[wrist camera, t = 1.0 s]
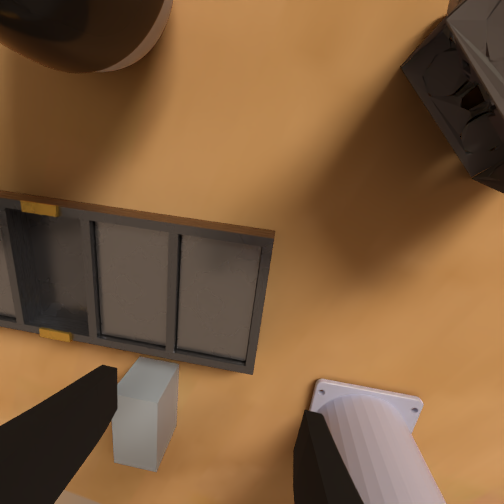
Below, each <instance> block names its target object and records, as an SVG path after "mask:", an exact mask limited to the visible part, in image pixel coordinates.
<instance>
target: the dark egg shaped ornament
mask: <svg viewBox="0 0 504 504" xmlns="http://www.w3.org/2000/svg"><path fill="white" fill-rule="evenodd" d="M172 3H173V0H0V43H1V44H2V45H4V46H6V47H8V48H9V49H11V50H13V51H15V52H16V53H18V54H20V55H22V56H24V57H26V58H28V59H30V60H32V61H34V62H36V63H39V64H41V65H43V66H46V67H48V68H51V69H54V70H57V71H62V72H67V73H91V72H109V71H115V70H119V69H122V68H125V67H127V66H130V65H132V64H134V63H135V62H137V61H138V60H140V59H141V58H142V57H144V56H145V55H146V54H147V53H148V52H149V51H150V50H151V49H152V48H153V46H154V45H155V44H156V42H157V41H158V39H159V38H160V36H161V34H162V32H163V30H164V28H165V26H166V24H167V21H168V18H169V15H170V12H171V8H172Z"/></svg>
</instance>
